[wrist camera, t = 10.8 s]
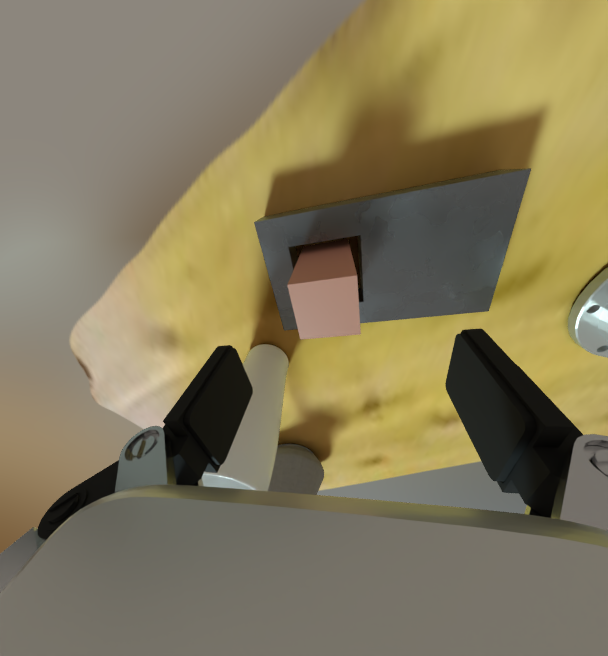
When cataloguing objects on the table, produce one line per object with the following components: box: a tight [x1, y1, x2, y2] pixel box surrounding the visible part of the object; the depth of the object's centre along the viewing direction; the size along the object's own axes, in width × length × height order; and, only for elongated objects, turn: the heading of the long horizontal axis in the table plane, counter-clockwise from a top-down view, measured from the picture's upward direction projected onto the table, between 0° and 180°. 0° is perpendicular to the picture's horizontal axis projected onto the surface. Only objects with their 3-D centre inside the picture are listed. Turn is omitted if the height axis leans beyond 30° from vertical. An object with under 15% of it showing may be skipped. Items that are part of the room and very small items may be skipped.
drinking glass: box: [202, 344, 289, 491], centre depth 23 cm, size 7×7×15 cm
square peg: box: [288, 239, 361, 339], centre depth 17 cm, size 4×4×9 cm
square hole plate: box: [254, 169, 531, 330], centre depth 19 cm, size 18×10×3 cm, turn 101°
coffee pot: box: [268, 444, 324, 495], centre depth 33 cm, size 21×12×15 cm, turn 25°
